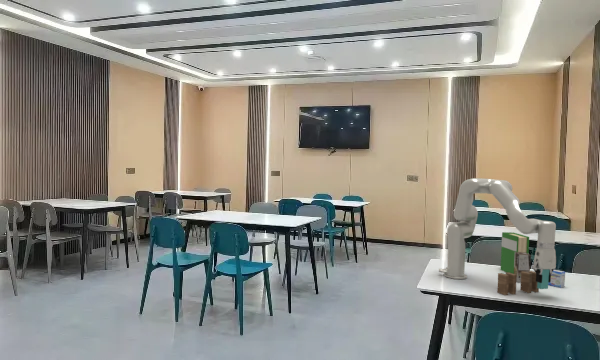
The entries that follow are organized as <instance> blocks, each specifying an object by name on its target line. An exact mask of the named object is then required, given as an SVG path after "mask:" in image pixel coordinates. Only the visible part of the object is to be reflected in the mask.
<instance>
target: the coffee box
mask: <svg viewBox="0 0 600 360" xmlns="http://www.w3.org/2000/svg"><path fill="white" fill-rule="evenodd" d="M531 257H532V255H531V254H530V253H529V254H528V253H525V252H515V256H514V274H516V275H517V280H516V283H518V284H521V272H522V271H525V272H528V273H529V271H531V260H532V259H531Z"/></svg>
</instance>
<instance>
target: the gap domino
mask: <svg viewBox="0 0 600 360" xmlns="http://www.w3.org/2000/svg"><path fill="white" fill-rule="evenodd" d="M539 271H540V269H539ZM541 275H542V283H539V282H538V283H537V288H538V289H539V290H549V285H548V280H549V269H543V271H542V274H541Z"/></svg>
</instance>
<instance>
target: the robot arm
mask: <svg viewBox="0 0 600 360" xmlns="http://www.w3.org/2000/svg"><path fill="white" fill-rule="evenodd" d="M474 194H488V195H492V196H493V197H494V198H495V199H496V200H497V202H498V203H499V204H500V205H501V206H502V208H503V209H504V210H505V212H506V213H505V214H506V216H507V218H508V219H509V221H510V222H511V224H512V225H513V226H514V227H515V229H517V230H518V232H520V234H521V233H522V235H532V234H537V240H536V241H537V242H536V250H535V253H534V257H533V258H534V259H533V260H534V261H533V265H532V267H531V268H532V271H534V272H535V273H536V282H539V283H542V275H541V274H542V271H543V269H549V280H548V282H550V281H551V274H552V272H553V270H556V267H557V265H556V264H557V255H556V249H555V244H556V243H555V242H556V229H557V228H556V227H557V225H556V223H555V222H554V221H550V220H541V219H537V218H528V217H527V216H525V214H524V213H523V212H522V210H521V209H520V199H519V197H517V195H515V193H514V192H513V185H512V183H510V182H509V181H508V180H505V179H504V180H503V179H493V178H482V177H481V178H480V177H479V178H476V177H475V178H473V177H472V178H470V179H469V178H468V179H466V180H464V181H463V182H462V183H461V184H460V186H459V191H458V196H457V198H456V202H455V206H454V211H453V217H454V219H455V220H456V221H458V222H453V223H451V224H450V225H448V227H447V230H446V232H447V233H446V234H447V265H446V266H447V267H445V268H438V272H439V273H442V274H443V273H444V274H443V275H444V277H446V278H449V279H455V280H466V279H467V278H468V275H467V274H465V265H466V242H465V239H467V238H470V237H472V235H473V234H474V232H475V229H476V224H477V220H478V217H479V214H478V209H477V207H476V206H475V205H473V202H474ZM539 269H540V271H539Z"/></svg>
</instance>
